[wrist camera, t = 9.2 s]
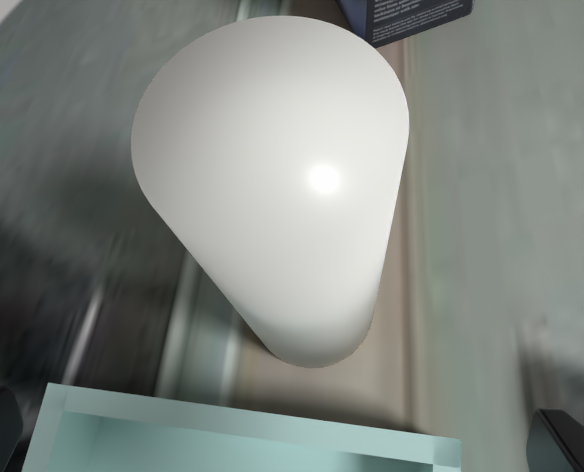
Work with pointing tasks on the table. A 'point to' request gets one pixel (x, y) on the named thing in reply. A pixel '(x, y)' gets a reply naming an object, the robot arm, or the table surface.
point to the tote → (214, 439)
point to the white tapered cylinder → (279, 174)
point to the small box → (399, 17)
